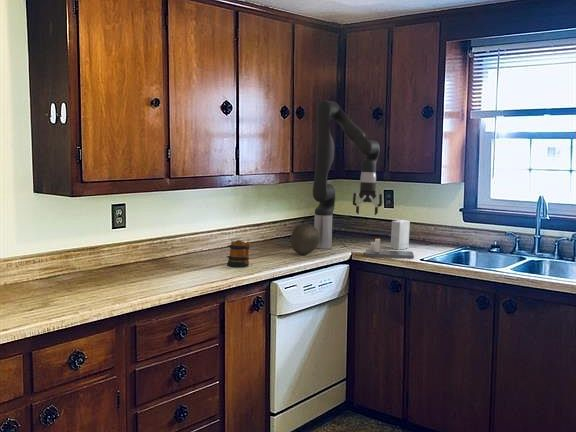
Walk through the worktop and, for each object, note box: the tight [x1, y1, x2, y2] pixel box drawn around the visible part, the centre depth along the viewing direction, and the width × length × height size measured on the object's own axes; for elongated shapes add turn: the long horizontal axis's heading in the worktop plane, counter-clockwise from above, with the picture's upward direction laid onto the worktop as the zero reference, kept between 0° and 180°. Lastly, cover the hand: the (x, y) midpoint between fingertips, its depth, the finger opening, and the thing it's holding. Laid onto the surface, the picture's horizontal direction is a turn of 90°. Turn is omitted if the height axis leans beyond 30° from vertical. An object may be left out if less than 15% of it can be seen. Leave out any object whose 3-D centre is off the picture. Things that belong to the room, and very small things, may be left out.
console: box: [365, 241, 415, 259], centre depth 315 cm, size 23×12×6 cm, turn 83°
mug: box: [226, 239, 251, 269], centre depth 280 cm, size 13×10×12 cm
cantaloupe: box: [290, 223, 320, 256], centre depth 311 cm, size 14×14×15 cm
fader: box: [374, 238, 381, 252], centre depth 315 cm, size 2×3×6 cm
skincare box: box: [390, 219, 411, 251], centre depth 336 cm, size 8×6×15 cm
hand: (366, 214), depth 314 cm, fingers open, 8 cm apart
